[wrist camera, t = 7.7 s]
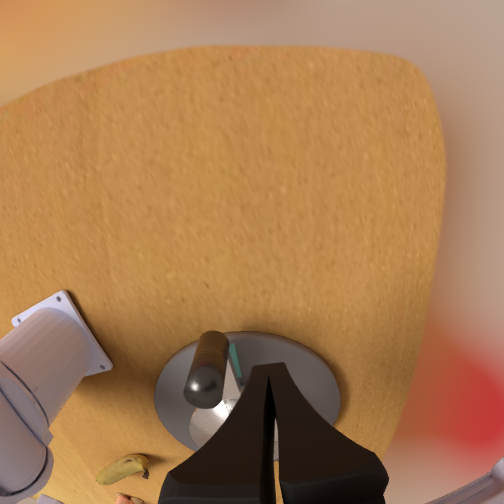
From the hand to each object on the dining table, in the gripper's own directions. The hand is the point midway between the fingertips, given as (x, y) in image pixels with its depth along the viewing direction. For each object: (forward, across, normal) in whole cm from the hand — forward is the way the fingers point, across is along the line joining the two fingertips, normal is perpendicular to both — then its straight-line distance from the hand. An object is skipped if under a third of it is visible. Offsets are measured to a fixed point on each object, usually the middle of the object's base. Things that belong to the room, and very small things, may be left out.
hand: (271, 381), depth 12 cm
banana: (+10, +19, +20) cm, 29 cm away
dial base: (+9, +3, +11) cm, 14 cm away
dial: (+8, +3, +8) cm, 12 cm away
